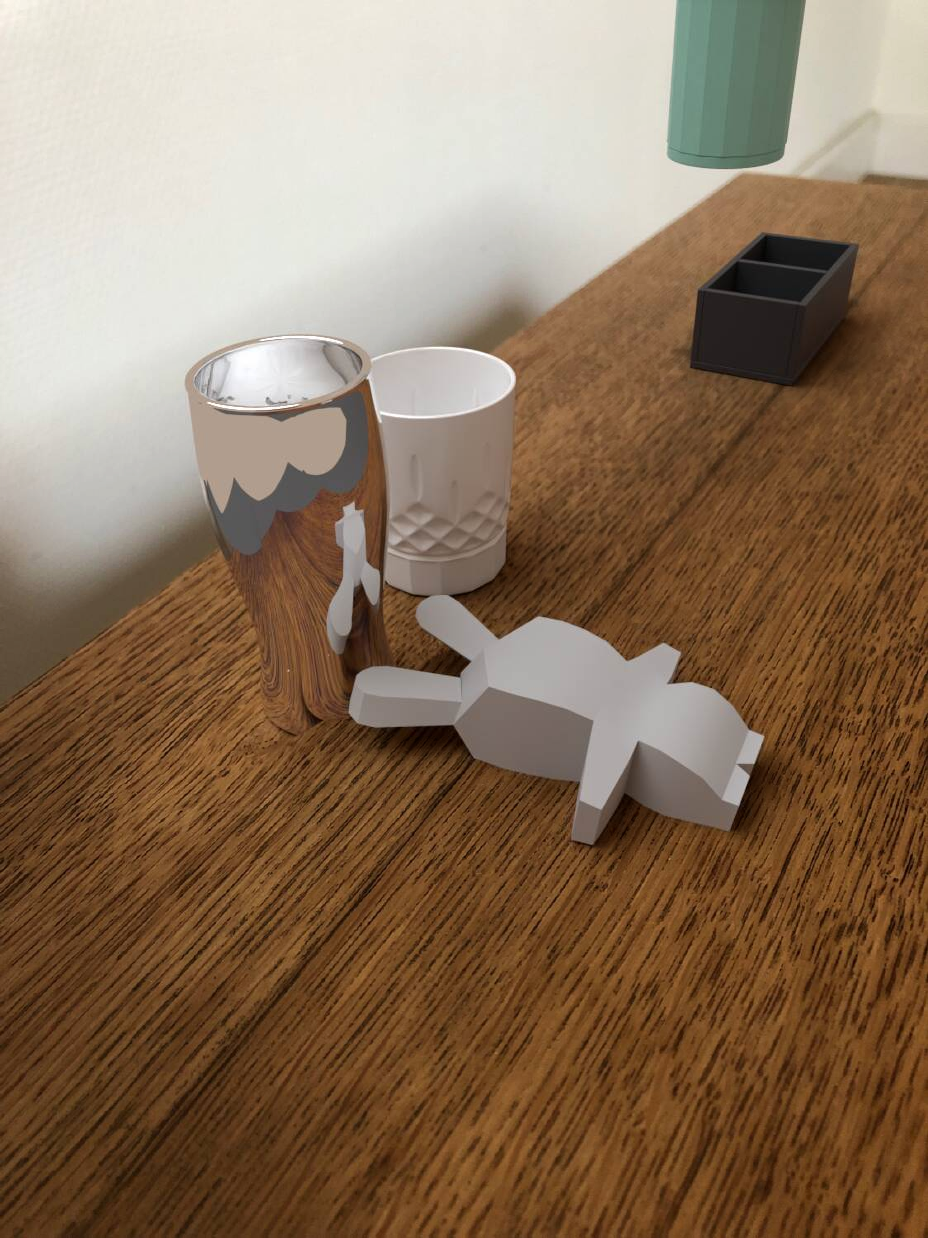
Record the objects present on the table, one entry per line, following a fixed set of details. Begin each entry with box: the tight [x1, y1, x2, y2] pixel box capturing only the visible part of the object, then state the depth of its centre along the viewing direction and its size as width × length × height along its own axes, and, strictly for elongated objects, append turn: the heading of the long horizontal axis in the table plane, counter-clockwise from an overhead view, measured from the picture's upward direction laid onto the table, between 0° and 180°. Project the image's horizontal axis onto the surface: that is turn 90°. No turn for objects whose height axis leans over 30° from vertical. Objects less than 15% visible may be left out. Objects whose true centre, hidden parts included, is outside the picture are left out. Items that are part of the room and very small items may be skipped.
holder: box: [689, 231, 860, 387], centre depth 73 cm, size 7×14×6 cm, turn 150°
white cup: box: [371, 346, 517, 597], centre depth 50 cm, size 8×8×10 cm
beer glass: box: [184, 333, 398, 736], centre depth 40 cm, size 7×7×15 cm
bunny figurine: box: [349, 595, 765, 846], centre depth 40 cm, size 10×5×15 cm
